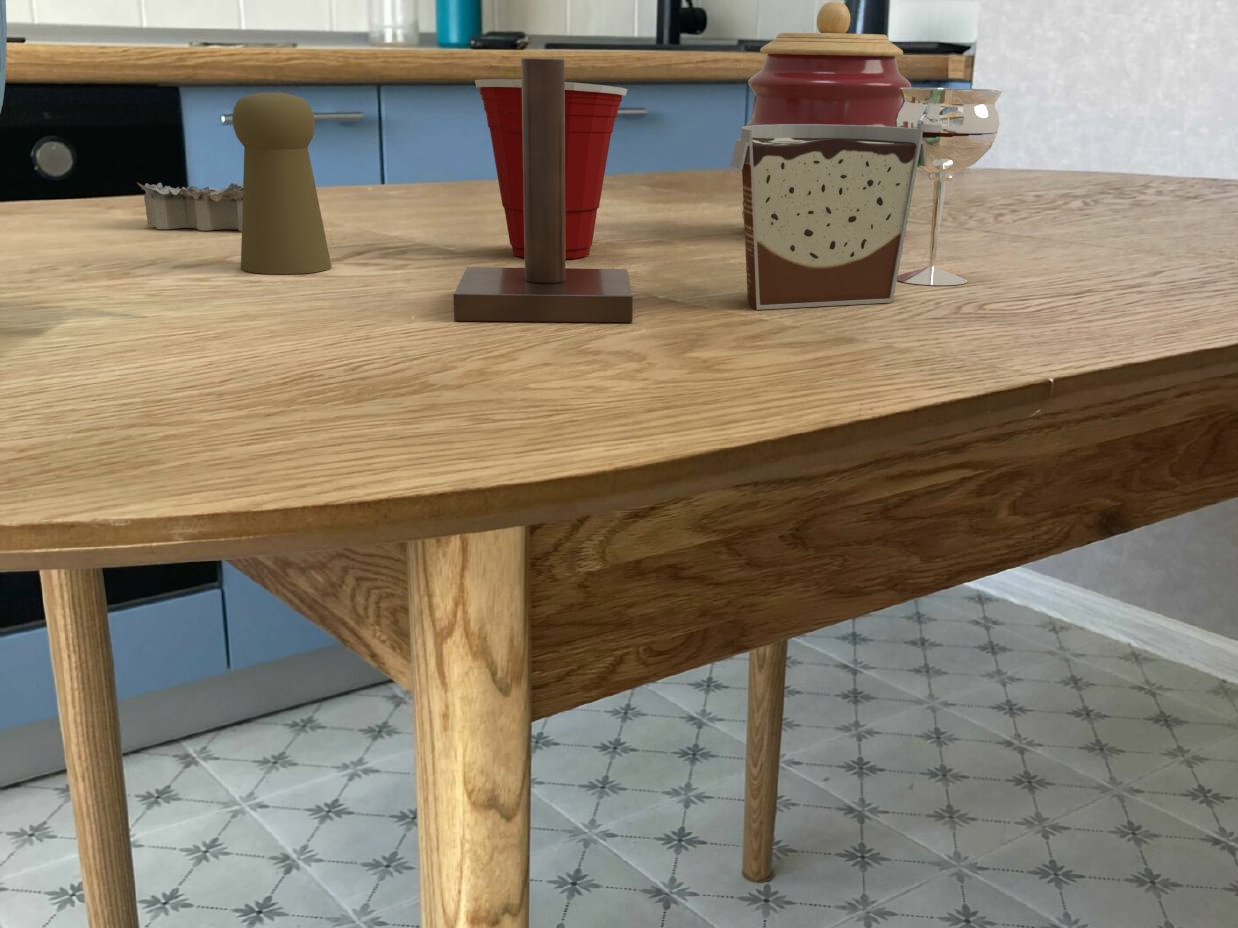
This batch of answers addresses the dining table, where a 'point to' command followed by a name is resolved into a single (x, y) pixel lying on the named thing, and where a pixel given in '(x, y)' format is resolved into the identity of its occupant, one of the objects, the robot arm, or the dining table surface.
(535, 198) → the stand
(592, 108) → the plastic cup
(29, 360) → the dining table surface
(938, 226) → the wineglass
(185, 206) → the egg carton
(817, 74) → the kitchen canister
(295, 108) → the cork
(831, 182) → the food container
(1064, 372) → the dining table surface
